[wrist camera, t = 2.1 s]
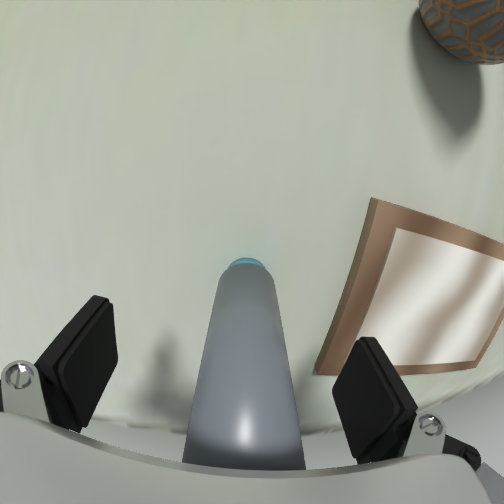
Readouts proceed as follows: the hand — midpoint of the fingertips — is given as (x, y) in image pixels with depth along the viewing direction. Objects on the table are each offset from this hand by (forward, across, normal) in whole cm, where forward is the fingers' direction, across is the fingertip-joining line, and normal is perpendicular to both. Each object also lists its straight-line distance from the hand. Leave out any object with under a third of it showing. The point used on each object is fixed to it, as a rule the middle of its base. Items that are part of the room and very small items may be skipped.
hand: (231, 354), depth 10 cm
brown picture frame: (+6, -16, 0) cm, 17 cm away
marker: (+7, -1, 0) cm, 7 cm away
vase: (+7, -11, -20) cm, 24 cm away
